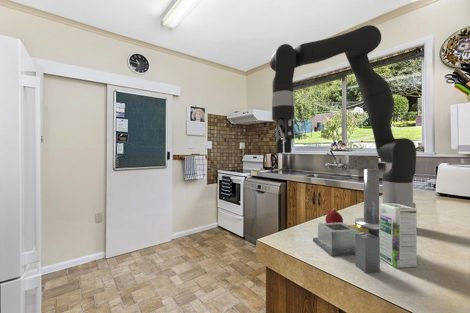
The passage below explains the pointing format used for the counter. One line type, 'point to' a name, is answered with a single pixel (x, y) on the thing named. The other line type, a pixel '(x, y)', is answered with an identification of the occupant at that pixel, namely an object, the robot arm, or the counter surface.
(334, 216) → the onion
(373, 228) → the bracket stand
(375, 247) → the grey rectangular block
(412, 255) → the syrup box
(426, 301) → the counter surface
